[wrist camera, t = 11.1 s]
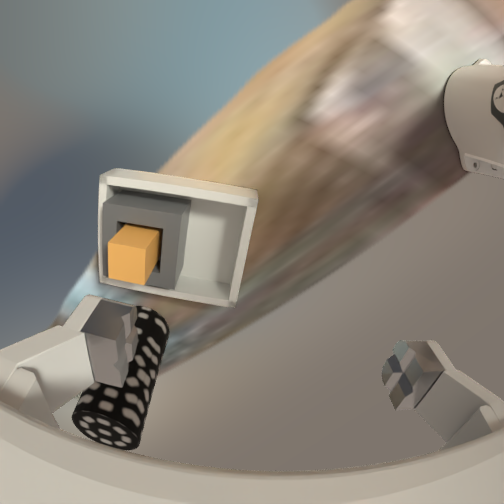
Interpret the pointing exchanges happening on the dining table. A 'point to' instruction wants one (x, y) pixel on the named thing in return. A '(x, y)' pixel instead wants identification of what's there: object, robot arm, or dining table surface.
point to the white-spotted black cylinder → (125, 390)
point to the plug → (134, 253)
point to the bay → (204, 233)
